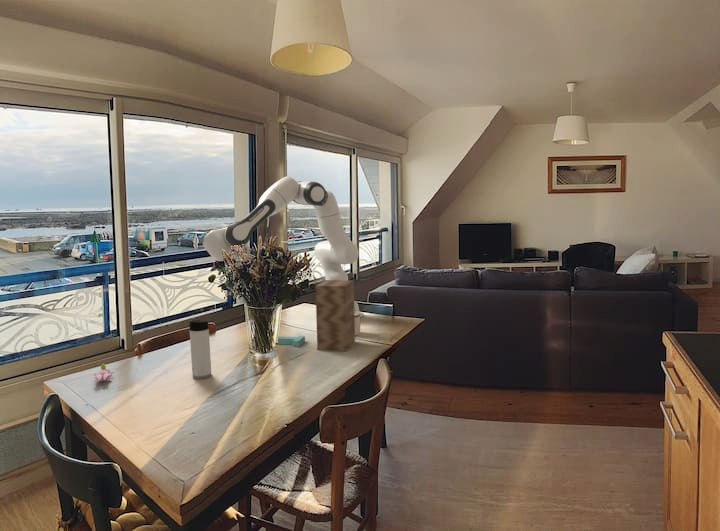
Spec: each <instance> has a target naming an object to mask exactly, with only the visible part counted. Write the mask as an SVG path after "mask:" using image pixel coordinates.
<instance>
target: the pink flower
mask: <svg viewBox="0 0 720 531" xmlns="http://www.w3.org/2000/svg"><path fill="white" fill-rule="evenodd" d="M114 373H115V371H111V370H110V368H106V365H105V363H102V364H101V366H100V370H99V371H98V373H97V374H96V373H95V374H93V376H94V379H95V380H96V381H99V382H102V381H105V382H106V381H108V380H110V379H111V378H112V377H113V375H112V374H114Z"/></svg>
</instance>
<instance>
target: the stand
mask: <svg viewBox="0 0 720 531" xmlns="http://www.w3.org/2000/svg"><path fill="white" fill-rule="evenodd" d="M354 301H355V280H349V279H348V280H323V281H321V282H320V283H318V284H317V285H315V311H316V312H315V313H316V342H317V343H316V344H317V345H316V346H317V348H316V350H318V351H332V352H333V351H334V352H347V351H348V350H349V349H350V348H351V347H352V346H353V344H354V343H355V342H356V335H355V318H354Z"/></svg>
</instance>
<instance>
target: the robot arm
mask: <svg viewBox="0 0 720 531" xmlns="http://www.w3.org/2000/svg"><path fill="white" fill-rule="evenodd" d="M291 202H294V203H295V204H298V205H302V206H303V205H304V206H313V208H314V209H315V210H314V211H315V214H316V219H317V223H318V228H319V231H320V233H321V234H322V236H324V238H325V239H326V240H322V241H319V242H318V243H316V245H315V247H314V256H315V257H316V259H317V260H318V261H319V263H320V264H321V267H322V269H323V273H324V279H325V280H349V277H348V273H346V271H344V268H343V266H342V265H350V264H354V263H356V261H357V260H358V258H359V253H360V252H359V248H358V246H357V245H356V244H355V243H353V241H352V240H351V239H350V238H349V236H348V234H347V233H346V231H345V229H344V226H343V222H342V217H341V213H340V209H339V205H338V201H337V199H336V196H335V195H334V193H333V192H332V191H329V190H326V188H325V187H324V185H322V183H319V182H317V181H311V180H304V181H303V180H302V181H300V180H299V181H297V180H296V179H294V178H293V177H292V176H284V177H282V178H281V179H278V180H277V181H276V182H274V183H273V184H272V185H271V186H270V187H268V188H267V189H266V190H265V191H264V192H263V193H262V195H261V196H260V198H259V200H258V203H257V205H256V207H255V208H254V209H253V210H252V211H250V213H249V214H247V216H246V215H245V217H244V218H243V219H241V220H239V221H238V220H237V221H235V222H232V223H231V224H229V225H228V226H226V227H224V228H219V229H211V230H210V231H208V232H207V234H206V235H205V236H204V238H203V239H202V246H203V248H204V249H205V250H206V252H207V253H208V254H209V255H210V256H211V258H213V259H214V260H215V261H216V262H217V261H223V255H222V249H224V250H225V251H226V252H230V251H231V246H234V245H238V246H239V245H242V244H244V245H243V246H245V245H246V244H248V243H249V241H250V240H251V238H252V235H253V232H254V231H255V230H256V229H257V228H258V227H259V226H260V225H261V224H263V222H265V220H267V219H268V218H270V217H272V216H275V215H276V214H278V213H280V212H282V210H283V209H285V208H286V207H287V206H288V205H289V204H290V203H291ZM325 280H324V281H325ZM354 310H355V311H356V312H359V313H360V318H361V317H363V316H365V315H364V314H365V313H363V311H362V312H361V311H360V307H359V304H358V303H357V302H356V301H355V300H354Z"/></svg>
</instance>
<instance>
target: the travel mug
mask: <svg viewBox="0 0 720 531" xmlns="http://www.w3.org/2000/svg"><path fill="white" fill-rule="evenodd" d="M188 324H189V326H188V327H189V341H190V343H189V344H190V355H191V356H190V357H191V371H192V375H191V376H192V378H193V379H195V380H203V379H208V378H210V377H211V376H212V360H211V346H210V345H211V344H210V328H209V327H210V326H209V320H200V319H199V320H197V319H196V320H190V321H189V322H188Z"/></svg>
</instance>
